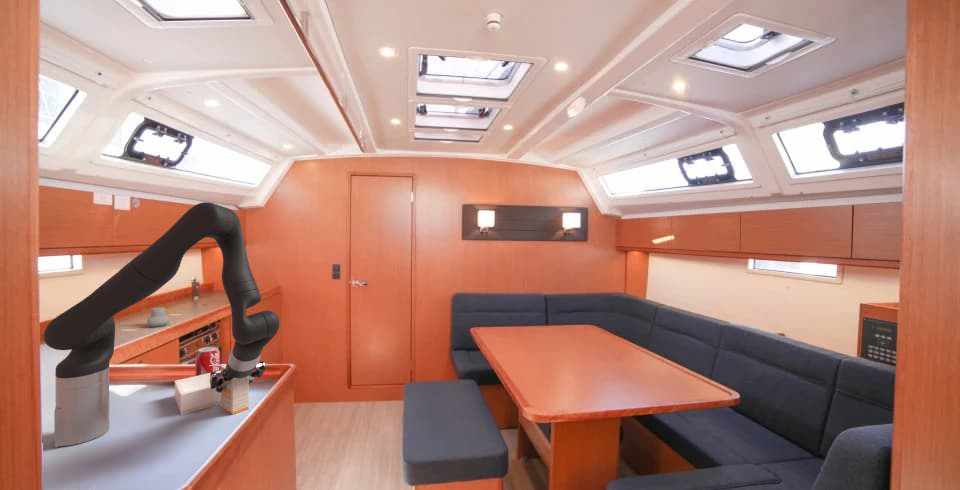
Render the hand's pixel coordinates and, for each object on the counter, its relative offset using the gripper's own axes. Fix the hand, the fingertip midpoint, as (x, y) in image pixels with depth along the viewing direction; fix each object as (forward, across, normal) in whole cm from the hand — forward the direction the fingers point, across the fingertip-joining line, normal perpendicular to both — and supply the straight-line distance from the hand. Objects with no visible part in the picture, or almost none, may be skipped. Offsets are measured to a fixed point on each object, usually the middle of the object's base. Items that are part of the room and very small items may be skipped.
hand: (233, 386), depth 107 cm
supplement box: (+4, 0, +6) cm, 7 cm away
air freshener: (+101, +7, -92) cm, 137 cm away
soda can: (+24, +2, -15) cm, 28 cm away
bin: (+13, +5, -4) cm, 14 cm away
